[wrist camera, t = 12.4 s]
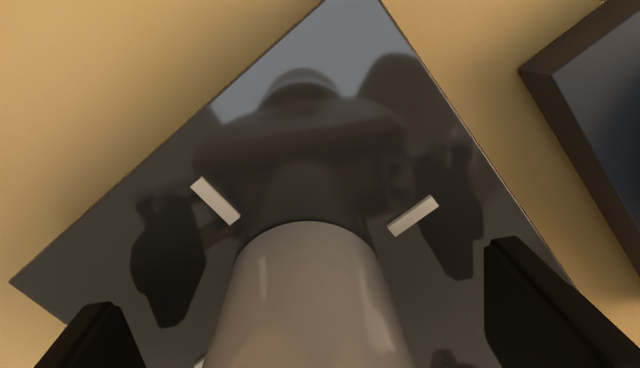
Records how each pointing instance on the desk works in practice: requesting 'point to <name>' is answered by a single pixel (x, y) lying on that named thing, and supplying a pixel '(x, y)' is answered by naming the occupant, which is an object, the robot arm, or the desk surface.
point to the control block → (598, 109)
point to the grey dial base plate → (299, 196)
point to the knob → (307, 304)
